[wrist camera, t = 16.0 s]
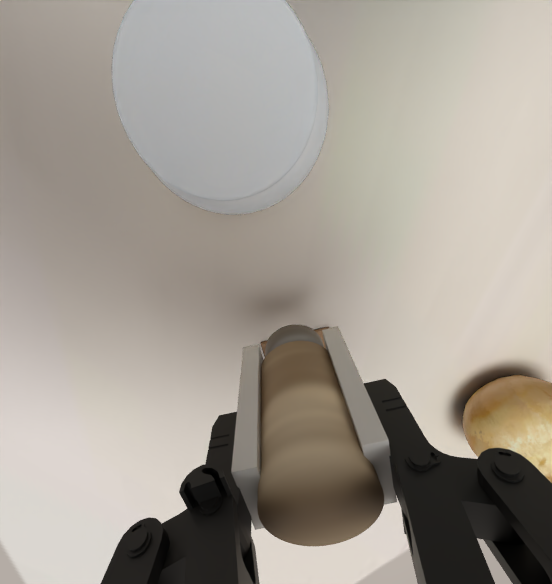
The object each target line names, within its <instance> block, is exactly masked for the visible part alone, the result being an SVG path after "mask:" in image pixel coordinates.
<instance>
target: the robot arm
mask: <svg viewBox="0 0 552 584" xmlns="http://www.w3.org/2000/svg"><path fill="white" fill-rule="evenodd" d="M322 332H323V337H324V342H325V347H326V349H327V350H328V352H329V355H330V358H331V361H332V364H333V367H334V370H335V373H336V375H337V378H338V381H339V384H340V387H341V390H342V393H343V396H344V399H345V402H346V405H347V408H348V411H349V414H350V416H351V419H352V422H353V425H354V428H355V431H356V434H357V437H358V440H359V443H360V446H361V449H362V452H363V455H364V456H365V457H366V458H367V459H368V460H369V461H370V462H371V463H372V465H373V466H374V468H375V470H376V473H377V475H378V478H379V481H380V484H381V486H382V489H383V493H384V504H389V503H394V502H397V499H396V495H397V498H398V501H399V503H400V506H401V509H402V517H403V524H404V532H405V534H406V535H407V539H408V543H409V548H410V552H411V556H412V560H413V564H414V569H415V573H416V577H417V582H418V584H495V582H494V580H493V578H492V575H491V573H490V570H489V568H488V565H487V563H486V560H485V558H484V556H483V553H482V550H481V548H480V546H479V543H478V541H477V538H479V539H483V540H484V541H485V542H486V544H487V546H488V547H489V548H490V550H491V552H492V553H493V555H494V556H495V558H496V559H497V561H498V562H499V563H500V565H501V567H502V568H503V570H504V571H505V573H506V574H507V576H508V577H509V578H510V580H511V582H512V583H513V584H552V483H551V482H550V481H549V480H548V479H547V478H546V477H545V476H544V475H543V474H542V473H541V472H540V471H539V470H538V469H537V468H536V467H535V466H534V465H533V464H532V463H531V462H530V461H529V460H527V459H526V458H525V457H523V456H522V455H521V454H518V453H516V452H514V451H512V450H509V449H504V448H489V449H487V450H485V451H483V452H481V454H480V456H479V457H478V459H471V458H460V457H454V456H449V455H447V454H444V453H442V452H440V451H438V450H437V449H435V448H434V447H433V446H432V445H430V443H429V442H428V441H427V439H426V438H425V436H424V435H423V433H422V431H421V429H420V428H419V426H418V424H417V423H416V421H415V419H414V417H413V416H412V414H411V412H410V410H409V409H408V407H407V406H406V404H405V402H404V400H403V399H402V397H401V395H400V393H399V392H398V390H397V388H396V387H395V386H394V385H393V384H391V383H390V382H389V381H387V380H386V379H383V380H378V381H373V382H369V383H364V384H363V382H362V379H361V377H360V375H359V373H358V370H357V368H356V366H355V364H354V361H353V359H352V357H351V355H350V353H349V350H348V348H347V346H346V344H345V341H344V339H343V337H342V335H341V332H340V330H339V328H338V327H333V328H329V329H324V330H322ZM262 362H263V357H262V354H261V350H260V347H259V344H258V345H254V346H249V347H245V348H243V356H242V367H241V377H240V387H239V397H238V408H237V412H233V413H229V414H224V415H219V417H218V419H217V420H216V422H215V423H214V425H213V427H212V432H211V440H210V443H209V450H208V454H207V460H206V465H201V466H200V467H198V468H196V469H194V470H193V471H192V472H191V473H189V474H188V475H187V476H186V478H185V479H184V481H183V483H182V484H181V488H180V491H179V493H180V495H181V497H182V499H183V500H184V502H185V504H186V506H187V509H186V510H185V511H183V512H182V513H180V514H179V515H177V516H175V517H173V518H171V519H170V520H168V521H166V522H164V523H162V524H161V522H159V521H158V520H157V519H156V518H146V519H143V520H140V521H139V522H137V523H136V524H134V525H133V526H131V527H130V528H129V530H128V531H127V532H126V533H125V534H124V535H123V537H122V538H121V540H120V542H119V544H118V546H117V548H116V550H115V552H114V555H113V557H112V559H111V562H110V564H109V566H108V568H107V571H106V573H105V575H104V578H103V580H102V582H101V584H259V577H258V569H257V561H256V552H255V546H254V543H253V540H252V537H251V520H252V523H253V525H254V528H255V529H261V528H265V527H264V526H263V525H262V523H261V521H260V519H259V516H258V509H257V502H258V483H259V480H260V469H261V364H262Z"/></svg>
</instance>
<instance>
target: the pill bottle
mask: <svg viewBox="0 0 552 584" xmlns="http://www.w3.org/2000/svg"><path fill="white" fill-rule="evenodd" d="M112 85H113V93H114V98H115V102H116V107H117V111H118V114H119V117H120V120H121V122H122V124H123V127H124V129H125V131H126V133H127V136H128V138H129V139H130V141H131V143H132V145H133V147H134V148H135V150H136V151H137V153H138V154H139V155H140V157H141V158H142V159H143V160H144V162H145V163H146V164H147V165H148V166H149V167H150V168H151V170H152V171H153V172H154V174H155V175H156V176H157V177H158V178H159V180H160V181H161V182H162V183H163V184H164V185H165V186H166V187H167V188H169V189H170V190H171V191H172V192H173V193H175V194H176V195H177V196H179V197H180V198H182V199H183V200H185V201H187V202H188V203H190V204H192V205H194V206H196V207H199V208H202V209H204V210H207V211H211V212H215V213H220V214H227V215H239V214H248V213H253V212H257V211H261V210H263V209H266V208H268V207H271V206H273V205H275V204H276V203H278V202H280V201H281V200H283V199H284V198H286V197H287V196H288V195H290V194H291V193H292V192H293V191H294V190H295V189H296V188H297V187H298V186H299V185H300V184H301V183H302V182H303V181H304V179H305V178H306V177H307V175H308V174H309V172H310V171H311V169H312V168H313V166H314V164H315V162H316V160H317V158H318V156H319V154H320V151H321V148H322V145H323V142H324V139H325V135H326V130H327V123H328V112H329V104H328V91H327V85H326V79H325V75H324V71H323V68H322V64H321V62H320V59H319V57H318V54H317V52H316V50H315V48H314V46H313V44H312V42H311V41H310V39H309V37H308V36H307V34H306V32H305V30H304V28H303V26H302V24H301V22H300V21H299V19H298V17H297V16H296V14H295V12H294V11H293V10H292V8H291V7H290V5H289V4H288V3H287V2H286V0H134V1H133V2H132V3H131V5H130V7H129V8H128V10H127V11H126V13H125V15H124V17H123V20H122V22H121V25H120V27H119V30H118V32H117V36H116V40H115V43H114V50H113V57H112Z"/></svg>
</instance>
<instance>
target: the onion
mask: <svg viewBox="0 0 552 584" xmlns="http://www.w3.org/2000/svg"><path fill="white" fill-rule="evenodd" d="M463 411H464V414H463V417H462V422H463V429H464V433H465V436H466V439H467V441H468V443H469V445H470V447H471V449H472V450H473V452H474V453H475V454H476V455H477V456H478V457H479V456H480V454H481V452H483V451H485V450H487V449H489V448H504V449H509V450H512V451H514V452H516V453H518V454H521V455H522V456H523V457H525V458H526V459H527V460H529V461H530V462H531V463H532V464H533V465H534V466H535V467H536V468H537V469H538V470H539V471H540V472H541V473H542V474H543V475H544V476H545V477H546V478H547V479H548V480H549V481H550V482H551V483H552V383H549V382H547V381H544V380H540V379H537V378H533V377H526V376H523V375H521V374H520V375H511V376H509V377H502V378H498V379H496V380H494V381H492V382H489V383H488V384H486V385H484V386H483V387H481V388H480V389H478V390H477V391H476V392H475V393H474V394H473V395H472V396H471V398H470V399H469V400H468V401H467V404H466V405H465V410H463Z"/></svg>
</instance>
